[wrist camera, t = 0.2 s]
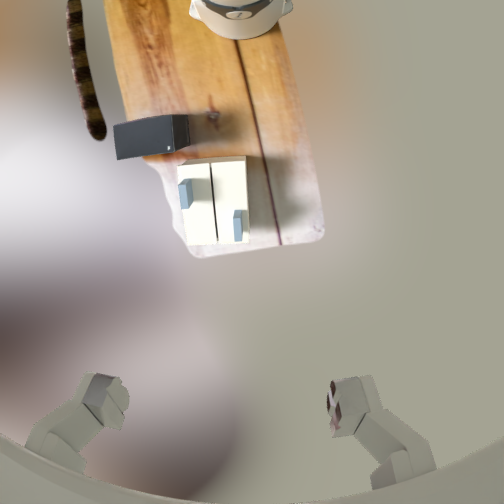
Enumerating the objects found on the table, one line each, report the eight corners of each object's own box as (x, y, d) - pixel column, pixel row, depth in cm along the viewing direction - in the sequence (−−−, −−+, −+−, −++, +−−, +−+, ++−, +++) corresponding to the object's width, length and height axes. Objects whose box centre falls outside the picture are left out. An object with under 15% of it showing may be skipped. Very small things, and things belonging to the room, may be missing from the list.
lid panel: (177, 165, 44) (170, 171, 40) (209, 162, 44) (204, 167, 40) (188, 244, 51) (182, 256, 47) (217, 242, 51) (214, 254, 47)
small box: (188, 112, 47) (172, 112, 37) (190, 145, 50) (176, 153, 40) (136, 120, 47) (111, 124, 38) (139, 152, 50) (116, 162, 41)
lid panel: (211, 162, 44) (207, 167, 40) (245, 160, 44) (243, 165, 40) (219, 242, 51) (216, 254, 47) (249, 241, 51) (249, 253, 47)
